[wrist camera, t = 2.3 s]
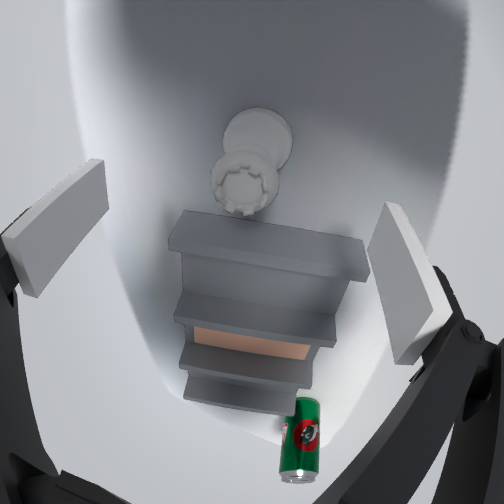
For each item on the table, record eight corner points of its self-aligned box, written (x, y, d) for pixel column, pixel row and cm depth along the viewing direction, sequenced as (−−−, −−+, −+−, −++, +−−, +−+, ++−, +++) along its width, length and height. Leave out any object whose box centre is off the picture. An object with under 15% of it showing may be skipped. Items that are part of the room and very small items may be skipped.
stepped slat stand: (184, 210, 24) (168, 238, 21) (362, 240, 24) (370, 272, 21) (190, 374, 40) (183, 398, 37) (294, 391, 39) (293, 416, 36)
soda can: (280, 398, 41) (272, 477, 32) (315, 393, 39) (313, 476, 30) (290, 411, 44) (284, 484, 34) (323, 408, 42) (321, 483, 33)
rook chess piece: (255, 92, 18) (234, 122, 12) (307, 137, 20) (314, 191, 13) (212, 140, 21) (173, 193, 14) (261, 180, 22) (246, 249, 16)
